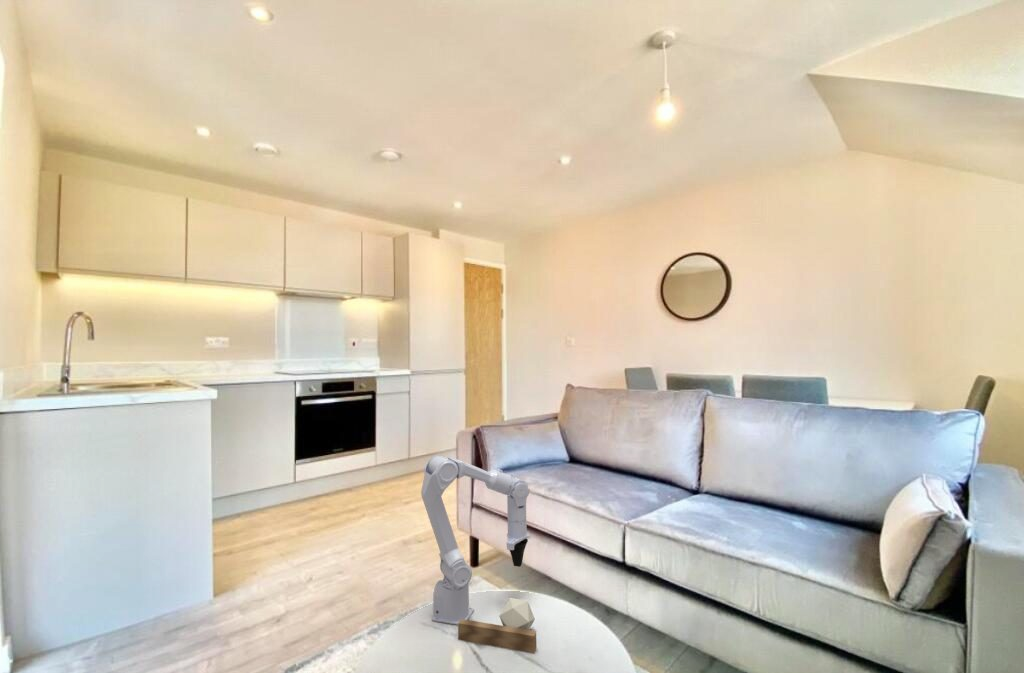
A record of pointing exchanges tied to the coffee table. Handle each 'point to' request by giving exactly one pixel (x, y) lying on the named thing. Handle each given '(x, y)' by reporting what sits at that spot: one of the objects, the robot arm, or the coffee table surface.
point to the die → (517, 614)
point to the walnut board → (497, 635)
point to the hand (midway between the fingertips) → (517, 565)
